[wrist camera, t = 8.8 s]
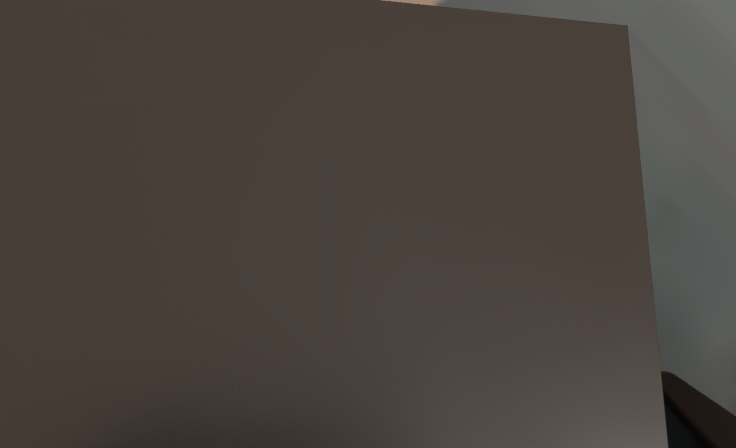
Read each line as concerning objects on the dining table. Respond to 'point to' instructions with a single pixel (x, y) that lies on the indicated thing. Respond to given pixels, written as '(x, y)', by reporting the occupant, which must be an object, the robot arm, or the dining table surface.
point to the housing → (320, 228)
